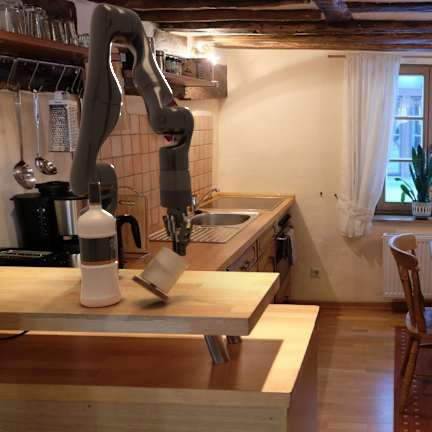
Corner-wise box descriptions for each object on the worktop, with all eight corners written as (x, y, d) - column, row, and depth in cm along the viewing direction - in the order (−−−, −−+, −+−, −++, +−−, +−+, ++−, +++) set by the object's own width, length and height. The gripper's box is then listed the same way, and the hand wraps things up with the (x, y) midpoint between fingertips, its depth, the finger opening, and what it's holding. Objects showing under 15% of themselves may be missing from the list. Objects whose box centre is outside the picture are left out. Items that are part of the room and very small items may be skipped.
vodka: (76, 301, 140) (68, 181, 136) (116, 294, 146) (109, 179, 141) (85, 310, 133) (76, 184, 128) (126, 303, 139) (119, 182, 134)
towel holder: (156, 296, 145) (125, 276, 139) (194, 245, 151) (166, 224, 145) (172, 305, 138) (141, 284, 132) (212, 252, 144) (184, 229, 138)
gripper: (202, 188, 138) (206, 257, 140) (178, 184, 147) (181, 248, 150) (172, 191, 132) (176, 262, 135) (149, 186, 142) (153, 253, 145)
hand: (179, 254), depth 143 cm, fingers closed on towel holder
